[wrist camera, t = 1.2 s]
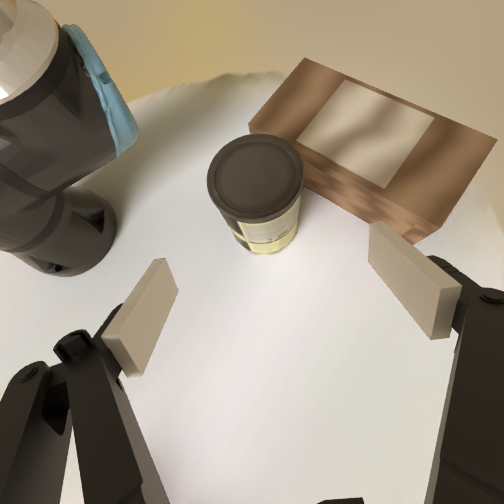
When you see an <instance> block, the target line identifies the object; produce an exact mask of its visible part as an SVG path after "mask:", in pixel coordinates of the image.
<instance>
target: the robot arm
mask: <svg viewBox="0 0 504 504" xmlns="http://www.w3.org/2000/svg"><path fill="white" fill-rule="evenodd" d="M138 137H139V129H138V126H137V123H136V121H135V119H134V117H133V115H132V113H131V112H130V110H129V108H128V106H127V104H126V102H125V101H124V99H123V97H122V95H121V94H120V92H119V90H118V89H117V87H116V85H115V83H114V82H113V80H112V79H111V78H110V75H109V73H108V72H107V70H106V68H105V66H104V64H103V63H102V61H101V59H100V58H99V56H98V54H97V52H96V51H95V49H94V48H93V46H92V44H91V43H90V41H89V40H88V38H87V36H86V35H85V33H84V32H83V31H82V30H81V28H80V27H79V26H77V25H74V24H73V25H67V24H66V25H63V26H62V28H61V27H60V25H59V24H58V23H57V22H56V20H55V19H54V18H53V16H52V15H51V14H50V12H49V11H48V10H46V9H45V8H44V7H43V6H42V5H40V4H39V3H37V2H34V1H31V0H0V250H2V251H6V252H9V253H11V254H13V255H14V256H16V257H18V258H19V259H21V260H22V261H24V262H25V263H27V264H28V265H30V266H32V267H33V268H35V269H36V270H38V271H40V272H43V273H45V274H50V275H54V276H60V277H71V276H75V275H79V274H81V273H84V272H86V271H88V270H89V269H91V268H92V267H94V266H95V265H96V264H97V263H98V262H99V261H100V260H101V259H102V258H103V257H104V256H105V254H106V253H107V251H108V250H109V248H110V246H111V244H112V242H113V239H114V235H115V230H116V220H115V215H114V212H113V210H112V208H111V207H110V205H109V204H108V203H107V202H106V201H105V200H104V199H102V198H101V197H99V196H98V195H96V194H95V193H93V192H91V191H88V190H86V189H82V188H78V187H74V186H70V185H72V184H74V183H75V182H77V181H79V180H80V179H82V178H84V177H85V176H87V175H89V174H90V173H92V172H94V171H95V170H97V169H99V168H100V167H102V166H103V165H105V164H107V163H108V162H110V161H112V160H113V159H115V158H118V157H120V155H121V153H123V152H124V151H125V150H127V149H128V148H129V147H131V146H132V145H134V144H135V143H136V141H137V139H138ZM368 262H369V263H370V265H371V266H372V267H373V268H374V270H375V271H376V272H377V273H378V275H379V276H380V277H381V278H382V280H383V281H384V282H385V283H386V285H387V286H388V287H389V289H390V290H391V291H392V292H393V294H394V295H395V296H396V297H397V299H398V300H399V301H400V302H401V304H402V305H403V306H404V307H405V309H406V310H407V311H408V312H409V314H410V315H411V316H412V317H413V319H414V320H415V321H416V322H417V324H418V325H419V326H420V327H421V329H422V330H423V331H424V332H425V334H426V335H427V336H428V337H429V339H430V340H434V339H443V338H449V337H450V333H451V329H452V328H453V329H454V330H455V331H456V332H457V333H458V334H459V336H458V340H457V343H456V347H455V351H454V353H455V354H454V359H453V364H452V369H451V374H450V379H449V384H448V389H447V394H446V399H445V404H444V409H443V414H442V418H441V423H440V428H439V433H438V438H437V443H436V448H435V453H434V458H433V463H432V468H431V473H430V478H429V483H428V488H427V493H426V497H425V502H424V504H504V292H503V291H500V290H497V289H493V288H482V287H481V286H479V285H478V284H477V283H475V282H474V281H473V280H471V279H470V278H469V277H467V276H466V275H464V274H463V273H462V272H459V270H458V269H456V268H455V267H453V266H452V265H451V264H450V263H448V262H447V261H446V260H444V259H442V258H439V257H437V256H434V255H432V256H425V255H424V254H422V253H421V252H420V251H419V250H417V249H416V248H415V247H414V246H412V245H411V244H410V243H409V242H407V241H406V240H405V239H404V238H402V237H401V236H400V235H399V234H398V233H396V232H395V231H394V230H393V229H391V228H390V227H389V226H388V225H386V224H385V223H384V222H383V221H382V222H376V223H370V225H369V254H368ZM177 293H178V288H177V286H176V283H175V281H174V279H173V276H172V274H171V271H170V269H169V266H168V264H167V261H166V259H165V258H160V259H154V260H153V262H152V263H151V265H150V266H149V268H148V269H147V271H146V272H145V273H144V275H143V276H142V278H141V279H140V281H139V282H138V283H137V285H136V286H135V288H134V289H133V291H132V292H131V294H130V295H129V296H128V298H127V299H126V301H125V302H124V303H122V304H120V305H118V306H117V307H116V308H115V309H114V310H113V311H112V312H111V313H110V315H109V316H108V317H107V318H108V319H106V320H105V322H104V323H103V325H102V326H101V327H100V328H99V330H98V331H97V333H96V334H95V335H94V337H93V338H91V336H90V335H89V333H88V332H87V331H86V330H83V329H81V330H76V331H74V332H71V333H69V334H67V335H66V336H64V337H63V338H62V339H60V340H59V341H58V342H57V343H56V345H55V346H54V349H53V351H54V352H55V354H56V355H57V356H58V357H59V359H60V360H61V361H62V363H59V364H57V365H54V366H51V367H49V366H48V365H47V364H46V363H45V362H44V361H37V362H34V363H31V364H29V365H28V366H25V367H24V368H23V369H21V370H20V371H18V372H17V373H16V374H15V375H14V376H13V377H12V379H11V380H10V382H9V384H8V386H7V388H6V390H5V392H4V395H3V397H2V399H1V401H0V504H59V503H60V497H61V491H62V485H63V479H64V474H65V468H66V462H67V456H68V450H69V444H70V438H71V432H72V426H73V430H74V437H75V443H76V450H77V457H78V463H79V470H80V477H81V483H82V490H83V497H84V504H170V502H169V500H168V497H167V495H166V492H165V490H164V487H163V485H162V482H161V480H160V477H159V475H158V472H157V470H156V467H155V465H154V462H153V460H152V457H151V455H150V452H149V450H148V447H147V445H146V442H145V440H144V437H143V435H142V432H141V430H140V427H139V425H138V422H137V420H136V417H135V415H134V413H133V410H132V408H131V405H130V403H129V400H128V398H127V395H126V393H125V390H124V388H123V385H122V383H121V381H120V379H119V378H118V376H119V374H120V372H121V370H123V372H124V373H125V375H126V377H127V378H128V377H136V376H142V375H143V373H144V371H145V368H146V366H147V364H148V361H149V359H150V357H151V354H152V352H153V349H154V347H155V345H156V342H157V340H158V338H159V335H160V333H161V331H162V328H163V326H164V324H165V321H166V319H167V317H168V314H169V312H170V310H171V307H172V305H173V303H174V300H175V298H176V296H177ZM318 504H364V501H363V498H362V497H361V498H347V499H333V500H324V501H322V502H320V503H318Z"/></svg>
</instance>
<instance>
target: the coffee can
mask: <svg viewBox="0 0 504 504" xmlns="http://www.w3.org/2000/svg"><path fill="white" fill-rule="evenodd" d="M304 179H305V169H304V164H303V161H302V159H301V157H300V155H299V153H298V152H297V150H296V149H295V148H294V147H293V146H292V145H291V144H290V143H288V142H287V141H285V140H283V139H282V138H279V137H277V136H273V135H269V134H249V135H245V136H242V137H239V138H237V139H235V140H233V141H231V142H229V143H228V144H226V145H225V146H224V147H223V148H222V149H221V150H219V152H218V153H217V154H216V155H215V157H214V158H213V160H212V162H211V164H210V167H209V169H208V174H207V188H208V192H209V195H210V197H211V199H212V201H213V202H214V204H215V205H216V207H217V208H218V209H219V210H220V212H221V214H222V215H223V217H224V219H225V220H226V222H227V224H228V225H229V227H230V229H231V231H232V232H233V234H234V236H235V238H236V240H237V242H238V243H239V244H240V246H242V247H243V248H244V249H245V250H247V251H248V252H250V253H252V254H256V255H272V254H276V253H279V252H280V251H282V250H284V249H285V248H286V247H287V246H288V245H290V243H291V242H292V241H293V239H294V237H295V235H296V232H297V228H298V215H299V207H300V199H301V192H302V189H303V185H304Z"/></svg>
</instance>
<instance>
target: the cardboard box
mask: <svg viewBox="0 0 504 504" xmlns="http://www.w3.org/2000/svg"><path fill="white" fill-rule="evenodd" d="M248 125H249V131H250V134H269V135H273V136H277V137H279V138H282V139H283V140H285V141H287V142H288V143H290V144H291V145H292V146H293V147H294V148H295V149H296V150H297V152H298V153H299V155H300V157H301V159H302V161H303V164H304V169H305V179H304V186H306V187H307V188H309V189H311V190H312V191H314V192H316V193H318V194H319V195H321V196H323V197H324V198H326V199H328V200H330V201H331V202H333V203H335V204H336V205H338V206H340V207H342V208H343V209H345V210H347V211H348V212H350V213H352V214H354V215H355V216H357V217H359V218H360V219H362V220H364V221H366V222H367V223H369V224H370V223H376V222H382V221H383V222H384V223H385V224H386V225H388V226H389V227H390V228H391V229H393V230H394V231H395V232H396V233H398V234H399V235H400V236H401V237H402V238H404V239H405V240H406V241H407V242H409V243H410V244H411V245H414V244H415V243H417V242H419V241H420V240H422V239H424V238H425V237H427V236H428V235H430V234H432V233H433V232H435V231H437V230H438V229H440V228H441V227H442V225H443V223H444V222H445V220H446V219H447V217H448V216H449V214H450V213H451V211H452V210H453V208H454V206H455V205H456V203H457V202H458V200H459V199H460V197H461V196H462V194H463V193H464V191H465V189H466V188H467V186H468V185H469V183H470V182H471V180H472V179H473V177H474V176H475V174H476V172H477V171H478V169H479V168H480V166H481V165H482V163H483V161H484V160H485V159H486V157H487V155H488V154H489V152H490V151H491V149H492V148H493V146H494V144H495V143H496V141H497V139H495V138H493V137H490V136H488V135H486V134H483V133H481V132H479V131H476V130H474V129H472V128H469V127H467V126H464V125H462V124H460V123H457V122H455V121H452V120H450V119H448V118H446V117H443V116H441V115H438V114H436V113H434V112H431V111H429V110H427V109H424V108H422V107H420V106H417V105H415V104H413V103H410V102H408V101H405V100H403V99H401V98H398V97H396V96H394V95H391V94H389V93H387V92H384V91H382V90H379V89H377V88H375V87H372V86H370V85H368V84H365V83H363V82H361V81H358V80H356V79H354V78H351V77H349V76H347V75H344V74H342V73H339V72H337V71H335V70H332V69H330V68H328V67H325V66H323V65H320V64H318V63H316V62H313V61H311V60H309V59H307V58H304V59H303V60H302V61H301V62H300V63H299V65H298V66H297V67H296V68H295V69H294V70H293V72H292V73H291V74H290V75H289V76H288V78H287V79H286V80H285V81H284V82H283V83H282V85H281V86H280V87H279V88H278V89H277V90H276V92H275V93H274V94H273V95H272V96H271V97H270V99H269V100H268V101H267V102H266V103H265V104H264V106H263V107H262V108H261V109H260V110H259V112H258V113H257V114H256V115H255V116H254V117H253V119H252V120H251V121H250V122H249V123H248Z"/></svg>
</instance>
